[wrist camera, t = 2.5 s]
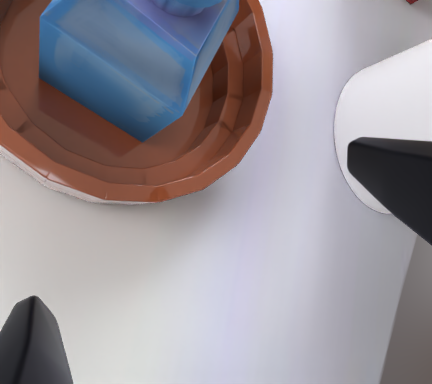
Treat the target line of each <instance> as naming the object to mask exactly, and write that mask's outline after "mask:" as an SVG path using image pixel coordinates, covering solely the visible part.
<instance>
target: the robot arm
mask: <svg viewBox="0 0 432 384" xmlns="http://www.w3.org/2000/svg"><path fill="white" fill-rule="evenodd" d="M347 169H348V171H349V173H350V174H351V175H352V176H353V177H354V178H355V179H356V180H357V181H358V182H359V183H360V184H361V185H362V186H363V187H364V188H365V189H366V190H367V191H368V192H369V193H370V194H371V195H372V196H373V197H374V198H376V199H377V200H378V201H379V202H380V203H381V204H382V205H383V206H384V207H385V208H386V209H387V210H389V211H390V212H391V213H392V214H393V215H395V216H396V217H397V218H398V219H400V220H401V221H402V222H403V223H405V224H406V225H407V226H408V227H409V228H411V229H412V230H413V231H414V232H416V233H417V234H418V235H419V236H421V237H422V238H423V239H425V240H426V241H427V242H428V243H429V244H431V245H432V141H419V140H404V139H390V138H375V137H359V138H357V139H355V140H353V141H351V142H350V143H349V144H348V147H347ZM0 384H73V380H72V376H71V372H70V368H69V364H68V361H67V357H66V353H65V349H64V345H63V342H62V338H61V334H60V330H59V326H58V323H57V320H56V318H55V317H54V315H53V314H52V313H51V311H50V310H49V309H48V308H47V307H46V305H45V304H44V303H43V302H42V301H41V299H40V298H39V297H37V296H30V297H28V298H26V299H24V300H22V301H20V302H18V303H17V304H16V305H15V306H14V308H13V310H12V311H11V313H10V315H9V317H8V319H7V321H6V322H5V324H4V326H3V328H2V330H1V331H0Z"/></svg>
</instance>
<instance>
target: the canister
mask: <svg viewBox="0 0 432 384" xmlns="http://www.w3.org/2000/svg"><path fill="white" fill-rule="evenodd" d="M359 137H375V138H390V139H404V140H419V141H432V39H430V40H428V41H426V42H423V43H421V44H419V45H417V46H414V47H412V48H410V49H408V50H405V51H403V52H401V53H399V54H396V55H394V56H392V57H389V58H387V59H385V60H383V61H380V62H378V63H376V64H374V65H371V66H369V67H367V68H365V69H362V70H360V71H359V72H357V73H356V74H355V75H353V76H352V77H351V78H350V80H349V81H348V82H347V83H346V85H345V87H344V88H343V90H342V92H341V95H340V97H339V100H338V103H337V107H336V112H335V120H334V139H335V147H336V153H337V157H338V161H339V164H340V167H341V170H342V172H343V175H344V177H345V179H346V181H347V183H348V184H349V186H350V188H351V189H352V191H353V192H354V193H355V195H356V196H357V197H358V198H359V199H360V200H361V201H362V202H363V203H364V204H365V205H367V206H368V207H369V208H371V209H373V210H375V211H377V212H380V213H384V214H392V213H391V212H390V211H389V210H387V209H386V208H385V207H384V206H383V205H382V204H381V203H380V202H379V201H378V200H377V199H376V198H374V197H373V196H372V195H371V194H370V193H369V192H368V191H367V190H366V189H365V188H364V187H363V186H362V185H361V184H360V183H359V182H358V181H357V180H356V179H355V178H354V177H353V176H352V175H351V174H350V173H349V171H348V169H347V147H348V144H349V143H350V142H351V141H353V140H355V139H357V138H359Z"/></svg>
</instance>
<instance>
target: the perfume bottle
mask: <svg viewBox="0 0 432 384" xmlns="http://www.w3.org/2000/svg"><path fill="white" fill-rule="evenodd" d="M238 11H239V0H52V1H51V3H50V4H49V5H48V6H47V8H46V9H45V10H44V12H43V13H42V14H41V16H40V34H39V78H40V79H42V80H43V81H45V82H46V83H48V84H50V85H51V86H53V87H54V88H56V89H58V90H59V91H61V92H62V93H64V94H65V95H67V96H69V97H70V98H72V99H73V100H75V101H77V102H78V103H80V104H81V105H83V106H85V107H86V108H88V109H89V110H91V111H93V112H94V113H96V114H97V115H99V116H101V117H102V118H104V119H105V120H107V121H109V122H110V123H112V124H113V125H115V126H117V127H118V128H120V129H121V130H123V131H125V132H126V133H128V134H129V135H131V136H133V137H134V138H136V139H137V140H139V141H141V142H142V143H143V142H144V141H146V140H147V139H149V138H150V137H152V136H153V135H155V134H156V133H158V132H159V131H160V130H162V129H163V128H165V127H166V126H168V125H169V124H171V123H172V122H174V121H175V120H177V119H178V118H180V117H181V116H182V115H183V113H184V112H185V110H186V108H187V106H188V104H189V102H190V100H191V99H192V97H193V95H194V93H195V91H196V89H197V87H198V86H199V84H200V82H201V80H202V78H203V76H204V74H205V73H206V71H207V69H208V67H209V65H210V63H211V61H212V60H213V58H214V56H215V54H216V52H217V50H218V48H219V47H220V45H221V43H222V41H223V39H224V37H225V35H226V34H227V32H228V30H229V28H230V26H231V24H232V22H233V21H234V19H235V17H236V15H237V13H238Z"/></svg>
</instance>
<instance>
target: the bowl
mask: <svg viewBox="0 0 432 384" xmlns="http://www.w3.org/2000/svg"><path fill="white" fill-rule="evenodd" d="M51 1H52V0H0V153H1V155H2V156H4V157H5V158H7V159H8V160H9V161H11V162H12V163H13V164H15V165H16V166H17V167H19V168H20V169H22V170H23V171H24V172H26V173H27V174H28V175H30V176H31V177H32V178H34V179H35V180H37V181H38V182H39V183H41V184H42V185H45V187H48V188H51V189H54V190H57V191H59V192H62V193H65V194H68V195H71V196H74V197H76V198H79V199H82V200H85V201H88V202H92V203H108V204H133V205H137V204H148V203H158V202H163V201H166V200H170V199H173V198H177V197H180V196H184V195H187V194H190V193H194V192H197V191H201V190H203V189H205V188H207V187H208V186H209V185H211V184H212V183H213V182H215V181H216V180H218V179H219V178H220V177H222V176H223V175H225V174H226V173H227V172H229V171H230V170H232V169H233V168H234V167H236V166H237V164H239V162H240V161H241V160H242V158H243V157H244V155H245V154H246V152H247V151H248V150H249V148H250V147H251V145H252V144H253V142H254V141H255V139H256V138H257V137H258V135H259V134H260V131H261V130H262V126H263V123H264V120H265V116H266V113H267V110H268V106H269V103H270V100H271V96H272V81H273V53H272V46H271V42H270V38H269V34H268V30H267V26H266V21H265V17H264V13H263V9H262V7H261V5H260V3H259V1H258V0H239V11H238V13H237V15H236V17H235V19H234V21H233V22H232V24H231V26H230V28H229V30H228V32H227V34H226V35H225V37H224V39H223V41H222V43H221V45H220V47H219V48H218V50H217V52H216V54H215V56H214V58H213V60H212V61H211V63H210V65H209V67H208V69H207V71H206V73H205V74H204V76H203V78H202V80H201V82H200V84H199V86H198V87H197V89H196V91H195V93H194V95H193V97H192V99H191V100H190V102H189V104H188V106H187V108H186V110H185V112H184V113H183V115H182V116H181V117H180V118H178V119H177V120H175V121H174V122H172V123H171V124H169V125H168V126H166V127H165V128H163V129H162V130H160V131H159V132H158V133H156V134H155V135H153V136H152V137H150V138H149V139H147V140H146V141H144V142H143V143H142V142H141V141H139V140H137V139H136V138H134V137H133V136H131V135H129V134H128V133H126V132H125V131H123V130H121V129H120V128H118V127H117V126H115V125H113V124H112V123H110V122H109V121H107V120H105V119H104V118H102V117H101V116H99V115H97V114H96V113H94V112H93V111H91V110H89V109H88V108H86V107H85V106H83V105H81V104H80V103H78V102H77V101H75V100H73V99H72V98H70V97H69V96H67V95H65V94H64V93H62V92H61V91H59V90H58V89H56V88H54V87H53V86H51V85H50V84H48V83H46V82H45V81H43V80H42V79H40V78H39V34H40V16H41V14H42V13H43V12H44V10H45V9H46V8H47V6H48V5H49V4H50V3H51Z"/></svg>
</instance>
